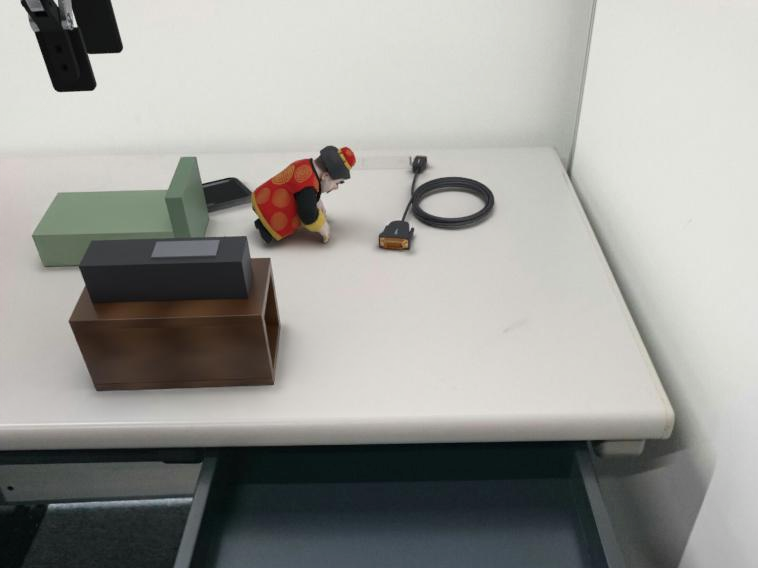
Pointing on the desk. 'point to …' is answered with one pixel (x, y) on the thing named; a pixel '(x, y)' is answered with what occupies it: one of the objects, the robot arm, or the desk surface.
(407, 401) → the desk surface
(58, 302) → the desk surface
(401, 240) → the cable
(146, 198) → the green l-shaped block
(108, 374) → the shelf
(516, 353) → the desk surface
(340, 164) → the figurine
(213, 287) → the black rectangular box
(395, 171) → the desk surface
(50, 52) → the robot arm
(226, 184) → the phone
